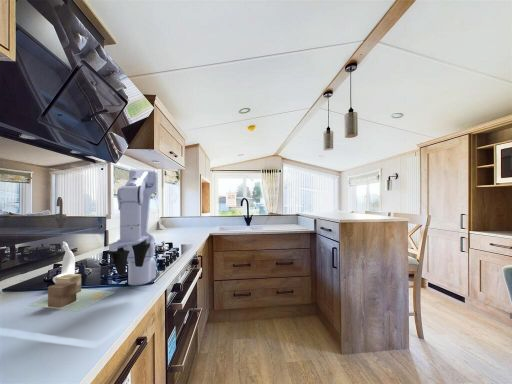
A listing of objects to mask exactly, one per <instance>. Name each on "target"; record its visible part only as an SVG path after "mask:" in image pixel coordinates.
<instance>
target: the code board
mask: <svg viewBox="0 0 512 384" xmlns="http://www.w3.org/2000/svg"><path fill="white" fill-rule="evenodd" d="M115 293H116V291H110V290H109V291H108V290H99V289H98V290H97V289H96V290H95V289H86V288H81V291H80V292H78V293H76V301H75V302H73V303H71V304H68V305H66V306H64V307H62V308H59V307H50V306H48V297H46V298H44V299H41V300H38V301H37V302H34V303H30V304H28V305H27V306H29V307H37V308H47V309H53V310H55V309H57V310H63V311H72V312H78V311H80V310H82V309H84V308H87V307H89V306H91V305H92V304H95V303H97V302H98V301H100V300H102V299H104V298H105V299H106V298H107V297H109V296H111V295H113V294H115Z"/></svg>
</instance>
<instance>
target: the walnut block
mask: <svg viewBox="0 0 512 384" xmlns="http://www.w3.org/2000/svg"><path fill="white" fill-rule="evenodd" d="M76 285H77V282H65V281H64V282H61V283H58V284H55V283H54V284H53V285H50V286H48V287H47V298H48V306H50V307H59V308H62V307H64V306H66V305H68V304H71V303H73V302H75V301H76Z"/></svg>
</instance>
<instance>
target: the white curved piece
mask: <svg viewBox="0 0 512 384" xmlns="http://www.w3.org/2000/svg"><path fill="white" fill-rule="evenodd" d="M61 248H63V249H64V251H65V252H64V255H63V259H62V263H61V273H60V274H57V275H56V276H53V278H52V281H53V283H54V285H55V284H56V278H58V277H61V276H64V275H67V274H76V257H75V255H74V253H73V251H72V250H71V249H70V248H69V244H68V243H67V242H66V241H62V246H61Z"/></svg>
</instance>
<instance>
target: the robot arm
mask: <svg viewBox="0 0 512 384" xmlns="http://www.w3.org/2000/svg"><path fill="white" fill-rule="evenodd" d="M158 178H159V177H158V171H157V170H156V169H135V168H131V169H130V170H129V172H128V180H127V181H126V183H125V184H124V185H122V186H121V187H118V188H117V192H116V193H117V194H116V199H117V205H118V210H119V238H118V239H117V241H115V242H112V243H108V250H107V251H108V252H107V254H108V255H109V256H110V258H111V259H112V262H113V263H114V267H115V270H116V274H117V275H125V274H126V271H127V270H128V271H127V273H128V274H127V275H128V279H127V281H128V282H127V283H128V285H129V286H142V285H146V284H148V283H150V282H151V281H152V280H154V279H156V278H157V263H156V260H155V258H154V257H155V253H156V249H155V248H156V246H155V243H156V241H155V237H154V235H152V234H151V233H149V232H148V230H149V229H148V227H149V217H150V203H151V198H152V194H154V193H156V192H157V189H158ZM127 265H128V266H127ZM127 268H128V269H127Z"/></svg>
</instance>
